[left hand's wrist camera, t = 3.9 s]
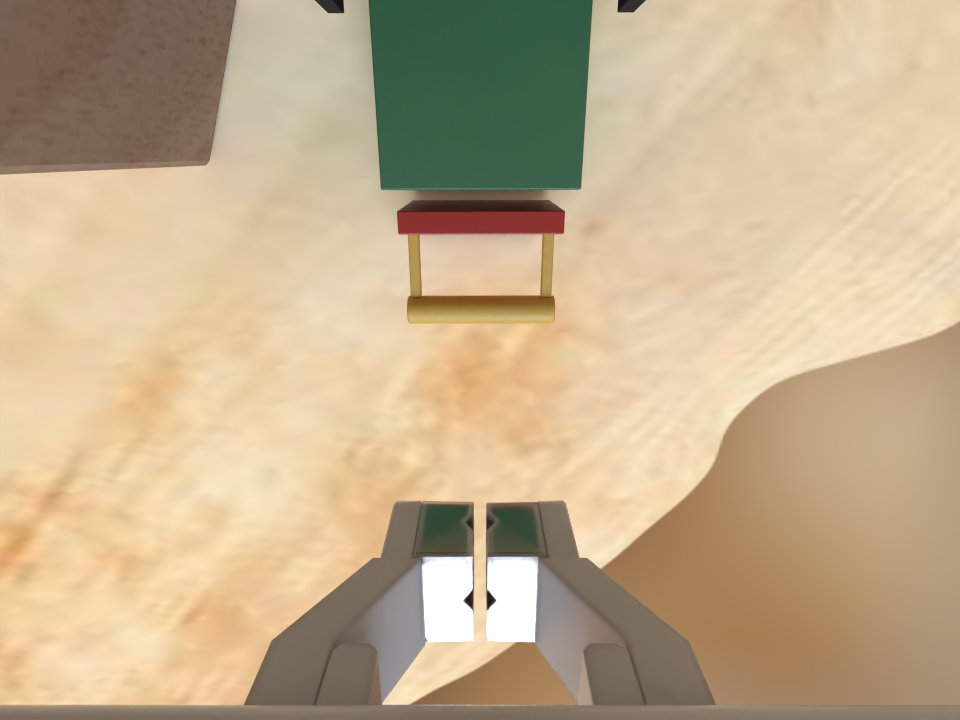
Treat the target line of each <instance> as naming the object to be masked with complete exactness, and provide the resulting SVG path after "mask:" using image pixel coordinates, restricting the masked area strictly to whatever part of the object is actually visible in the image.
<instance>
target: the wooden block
mask: <svg viewBox="0 0 960 720" xmlns="http://www.w3.org/2000/svg"><path fill="white" fill-rule="evenodd" d="M235 4H236V0H0V174H23V173H45V172H67V171H90V170H112V169H135V168H157V167H180V166H202V165H207V163H208V162H209V160H210V154H211V148H212V142H213V136H214V130H215V124H216V118H217V112H218V106H219V100H220V94H221V88H222V82H223V76H224V70H225V64H226V58H227V52H228V46H229V40H230V34H231V28H232V22H233V16H234V10H235Z"/></svg>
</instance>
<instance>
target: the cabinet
mask: <svg viewBox="0 0 960 720" xmlns="http://www.w3.org/2000/svg"><path fill="white" fill-rule="evenodd" d="M592 1H593V0H369V11H370V26H371V42H372V57H373V73H374V88H375V104H376V119H377V135H378V150H379V166H380V181H381V189H382V190H579V189H581V179H582V163H583V147H584V131H585V115H586V98H587V82H588V66H589V50H590V33H591V17H592Z"/></svg>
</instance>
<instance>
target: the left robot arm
mask: <svg viewBox="0 0 960 720" xmlns="http://www.w3.org/2000/svg"><path fill="white" fill-rule="evenodd" d="M486 603H487V641H522V642H535V645H536V646H537V648H538V649H539V650H540V652H541V653H542V654H543V656H544V657H545V659H546V660H547V661H548V663H549V664H550V665H551V667H552V668H553V669H554V671H555V672H556V674H557V675H558V676H559V678H560V679H561V680H562V682H563V683H564V685H565V686H566V687H567V689H568V690H569V691H570V693H571V694H572V695H573V697H574V698H575V700H576V701H577V702H578V705H382V703H383V701H384V700H385V699H386V697H387V696H388V695H389V693H390V692H391V690H392V689H393V688H394V686H395V685H396V684H397V682H398V681H399V680H400V678H401V677H402V676H403V674H404V673H405V671H406V670H407V669H408V667H409V666H410V665H411V663H412V662H413V661H414V659H415V658H416V657H417V655H418V654H419V652H420V651H421V650H422V648H423V647H424V646H425V642H438V641H472V640H473V612H474V502H441V501H423V502H421V501H397V502H396V503H395V504H394V506H393V510H392V514H391V518H390V522H389V526H388V530H387V534H386V538H385V542H384V547H383V551H382V555H381V558H372V559H371V560H370V561H369V562H368V563H366V564H365V565H364V566H363V567H361V568H360V569H359V570H358V571H357V572H355V573H354V574H353V575H352V576H350V577H349V578H348V579H347V580H346V581H344V582H343V583H342V584H341V585H339V586H338V587H337V588H336V589H335V590H333V591H332V592H331V593H330V594H328V595H327V596H326V597H325V598H323V599H322V600H321V601H320V602H319V603H317V604H316V605H315V606H314V607H312V608H311V609H310V610H309V611H308V612H306V613H305V614H304V615H303V616H301V617H300V618H299V619H298V620H297V621H295V622H294V623H293V624H292V625H290V626H289V627H288V628H287V629H286V630H284V631H283V632H282V633H281V634H279V635H278V636H277V637H276V638H275V639H273V640H272V641H271V644H270V646H269V648H268V651H267V653H266V655H265V658H264V660H263V662H262V664H261V667H260V669H259V671H258V674H257V676H256V678H255V681H254V683H253V685H252V688H251V690H250V692H249V694H248V697H247V699H246V701H245V704H244V705H0V720H960V705H716V704H715V701H714V699H713V697H712V694H711V692H710V690H709V687H708V685H707V683H706V680H705V678H704V676H703V673H702V671H701V669H700V666H699V664H698V662H697V659H696V657H695V655H694V652H693V650H692V648H691V645H690V643H689V641H688V640H686V639H685V638H684V637H683V636H681V635H680V634H679V633H678V632H677V631H675V630H674V629H673V628H672V627H670V626H669V625H668V624H667V623H666V622H664V621H663V620H662V619H661V618H660V617H658V616H657V615H656V614H655V613H653V612H652V611H651V610H650V609H649V608H647V607H646V606H645V605H644V604H643V603H641V602H640V601H639V600H638V599H636V598H635V597H634V596H633V595H631V594H630V593H629V592H628V591H627V590H625V589H624V588H623V587H622V586H621V585H619V584H618V583H617V582H616V581H614V580H613V579H612V578H611V577H610V576H608V575H607V574H606V573H605V572H603V571H602V570H601V569H600V568H599V567H597V566H596V565H595V564H594V563H593V562H591V561H590V560H589V559H588V558H579V554H578V550H577V546H576V542H575V538H574V534H573V530H572V526H571V522H570V518H569V514H568V510H567V506H566V503H565V502H564V501H538V502H511V503H486Z"/></svg>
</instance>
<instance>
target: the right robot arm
mask: <svg viewBox="0 0 960 720" xmlns="http://www.w3.org/2000/svg"><path fill="white" fill-rule="evenodd" d="M315 1H316V2H317V3H318V4H319V5H320V6H321V7H322V8H324V9H325V10H326V11H327V12H328V13H344V5H343V0H315ZM644 1H645V0H618V12H634V11H635V10H636V9H637V8H638V7H639V6H640V5H641V4H642V3H643V2H644Z"/></svg>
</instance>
